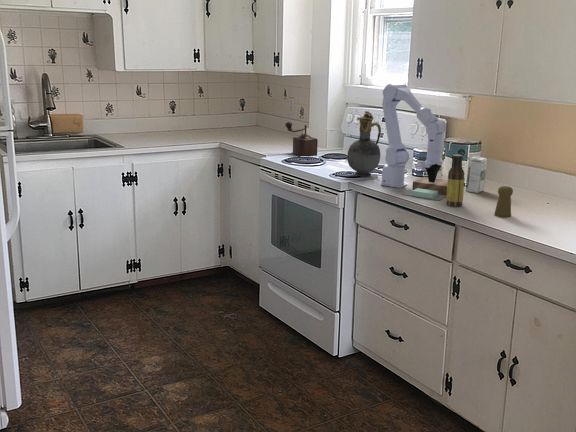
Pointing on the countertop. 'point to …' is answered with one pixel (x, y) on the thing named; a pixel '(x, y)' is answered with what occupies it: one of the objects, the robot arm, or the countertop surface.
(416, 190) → the pale teal block
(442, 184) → the deck
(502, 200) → the cork
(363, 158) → the pitcher
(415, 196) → the mat
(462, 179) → the sauce bottle
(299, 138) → the manual coffee grinder
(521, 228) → the countertop surface
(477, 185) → the syrup box
